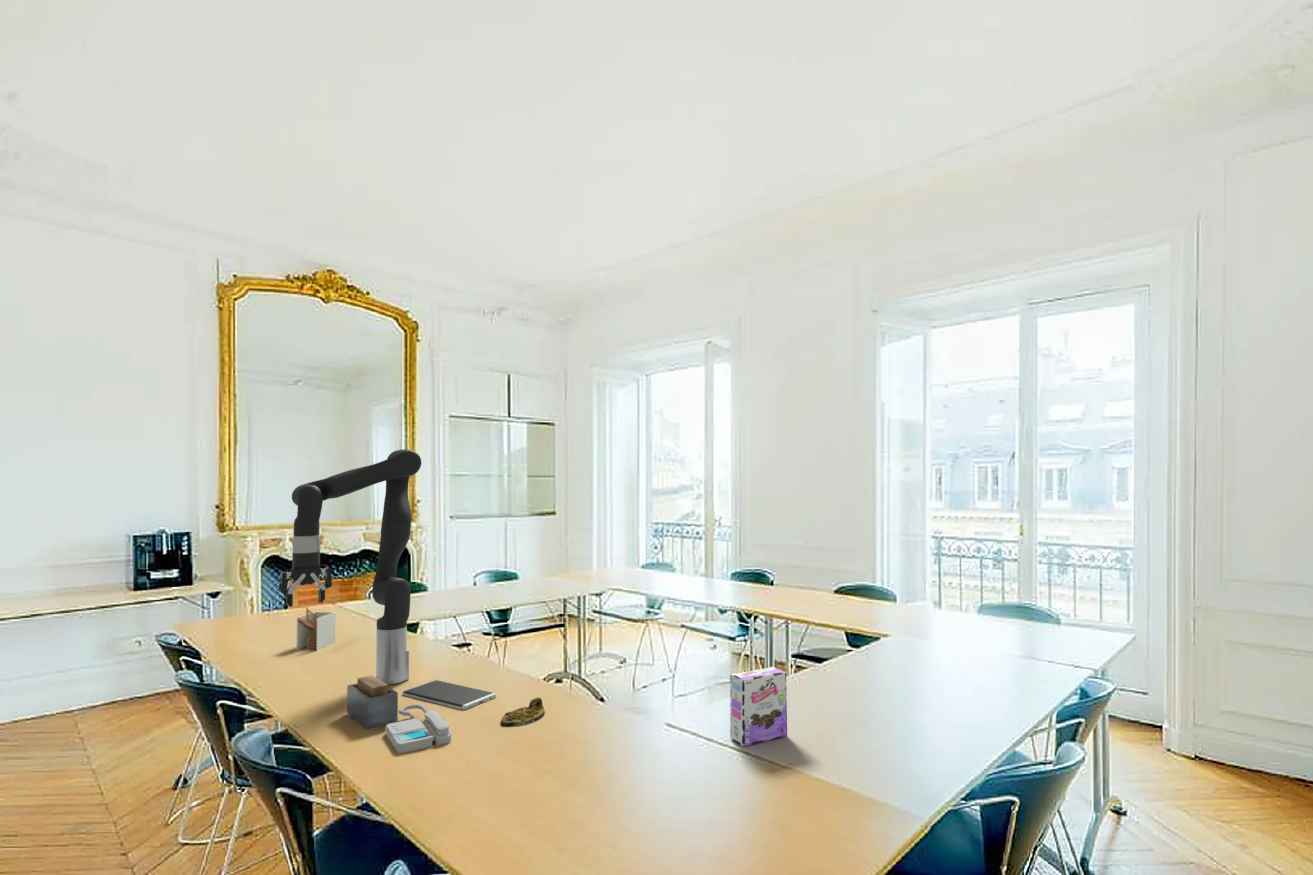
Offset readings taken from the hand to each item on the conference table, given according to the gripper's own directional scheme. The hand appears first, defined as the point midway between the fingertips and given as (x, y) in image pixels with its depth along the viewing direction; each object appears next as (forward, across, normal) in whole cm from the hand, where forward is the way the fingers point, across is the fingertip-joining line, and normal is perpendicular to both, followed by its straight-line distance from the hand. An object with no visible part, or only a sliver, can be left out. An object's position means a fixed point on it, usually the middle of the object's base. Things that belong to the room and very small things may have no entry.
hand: (305, 604), depth 211 cm
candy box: (+28, -74, +114) cm, 139 cm away
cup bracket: (+28, -8, +31) cm, 43 cm away
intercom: (+28, -13, +48) cm, 58 cm away
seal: (+28, -39, +60) cm, 77 cm away
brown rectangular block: (+23, -9, +31) cm, 40 cm away
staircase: (+29, -22, -62) cm, 72 cm away
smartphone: (+29, -33, +28) cm, 52 cm away
